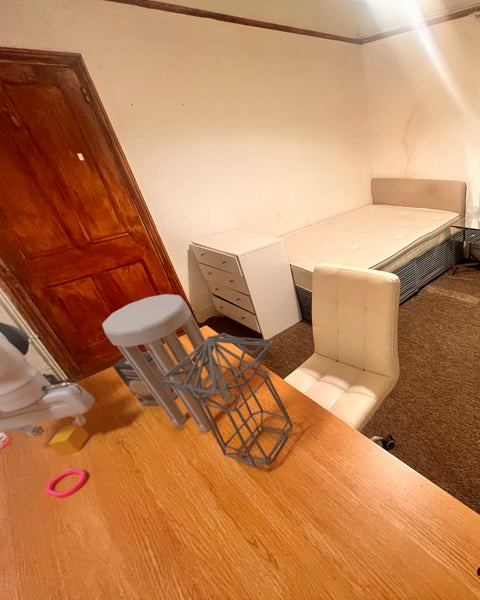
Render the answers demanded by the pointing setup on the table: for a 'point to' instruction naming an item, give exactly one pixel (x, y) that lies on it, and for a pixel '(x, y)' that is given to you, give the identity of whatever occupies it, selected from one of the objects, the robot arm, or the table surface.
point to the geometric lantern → (203, 353)
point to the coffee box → (139, 380)
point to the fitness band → (70, 491)
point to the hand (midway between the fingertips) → (60, 428)
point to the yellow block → (69, 440)
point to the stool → (163, 351)
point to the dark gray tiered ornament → (52, 379)
